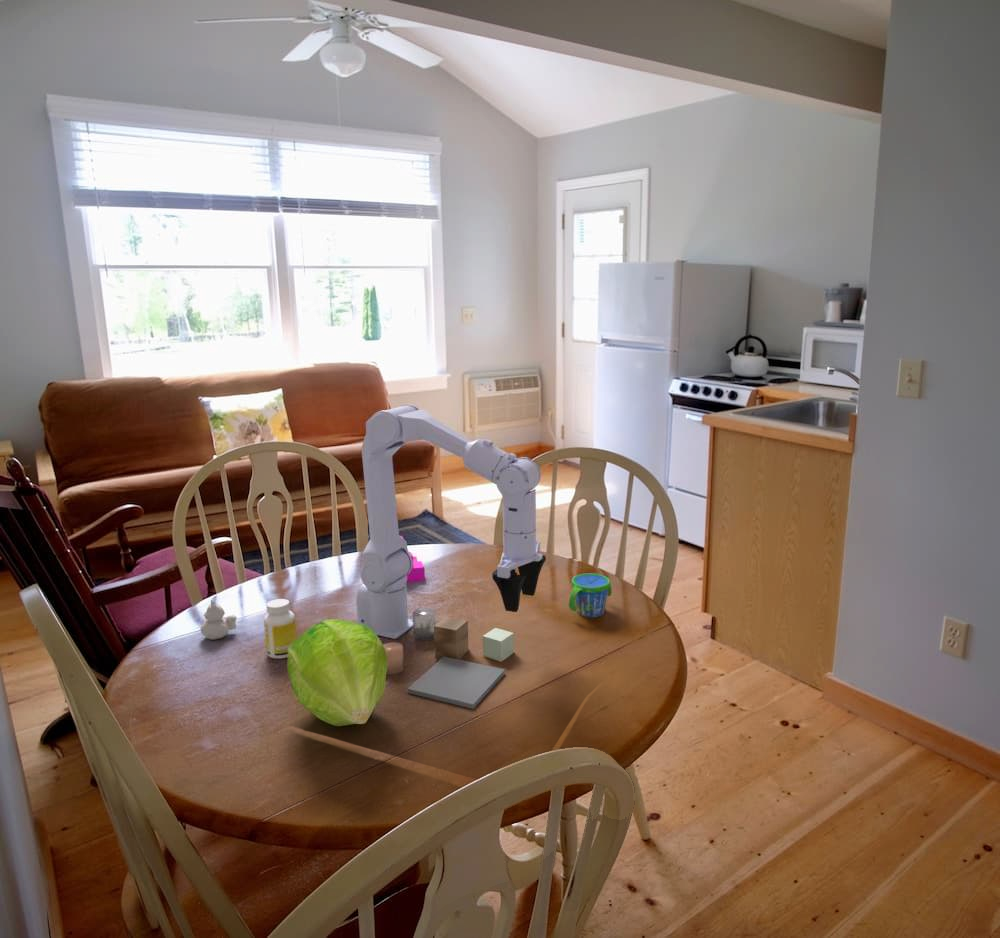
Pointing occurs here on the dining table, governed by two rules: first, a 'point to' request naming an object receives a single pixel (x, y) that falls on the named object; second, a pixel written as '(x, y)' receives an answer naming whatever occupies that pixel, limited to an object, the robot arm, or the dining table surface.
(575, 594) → the snack cup
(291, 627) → the supplement bottle
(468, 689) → the slate coaster
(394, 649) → the peach rounded cylinder
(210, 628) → the grey rounded figure
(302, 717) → the dining table surface
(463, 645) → the walnut block
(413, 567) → the toy block
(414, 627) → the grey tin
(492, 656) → the pale green block
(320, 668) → the lettuce
